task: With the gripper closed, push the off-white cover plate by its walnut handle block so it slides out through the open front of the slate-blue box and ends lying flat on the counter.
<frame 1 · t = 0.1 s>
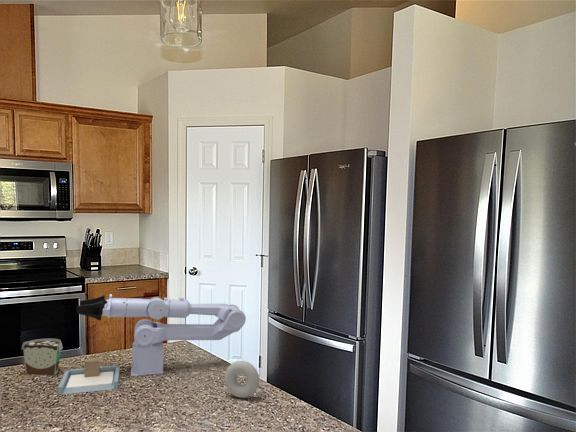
hand: (78, 307, 137), 22 cm above the countertop, tool horizontal, fingers open, 7 cm apart
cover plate: (91, 381, 133), resting on open box
donut: (241, 398, 125), on the countertop
food container: (46, 373, 142), on the countertop
open box: (90, 384, 133), on the countertop
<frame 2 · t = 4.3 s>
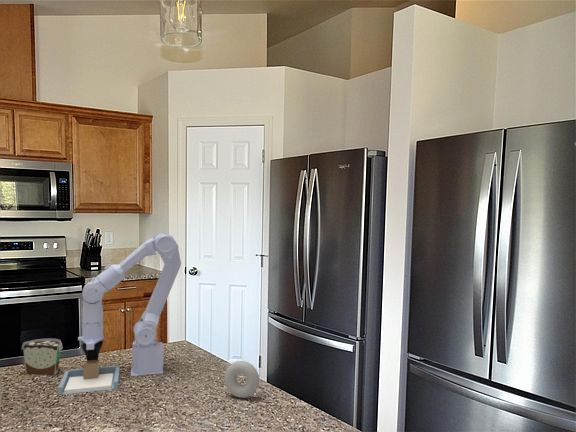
hand: (92, 366, 138), 3 cm above the countertop, tool pointing down, fingers closed
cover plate: (90, 383, 132), resting on open box, touching gripper
everything else where it was.
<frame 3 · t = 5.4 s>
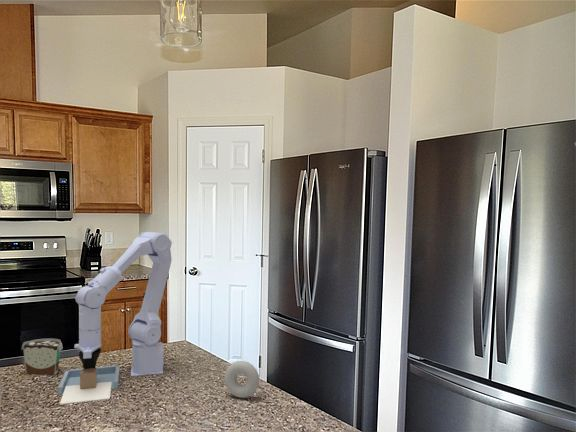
hand: (89, 375, 130), 3 cm above the countertop, tool pointing down, fingers closed
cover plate: (87, 394, 124), on the countertop, touching gripper
everything else where it was.
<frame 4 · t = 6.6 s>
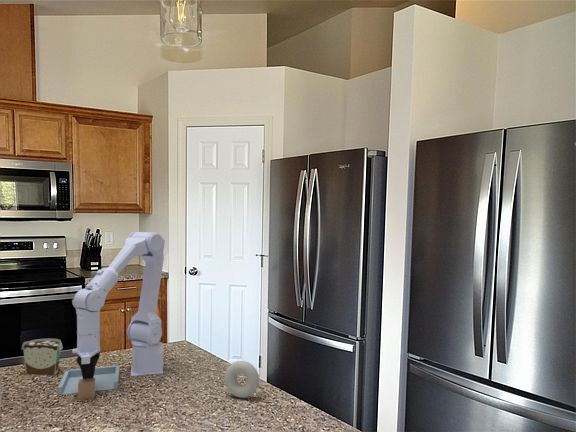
hand: (88, 381, 126), 3 cm above the countertop, tool pointing down, fingers closed
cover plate: (85, 405, 120), on the countertop
everything else where it was.
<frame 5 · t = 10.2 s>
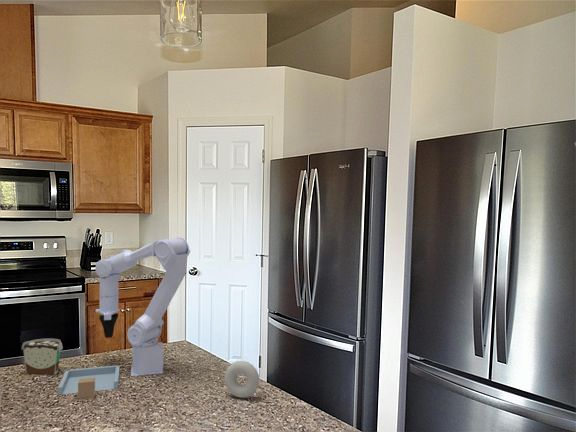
hand: (108, 337, 148), 9 cm above the countertop, tool pointing down, fingers closed
nothing on the countertop moved.
at the end: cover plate inside the target area (2.0 cm from its centre), on the countertop; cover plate touching countertop; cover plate tilted 0° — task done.
